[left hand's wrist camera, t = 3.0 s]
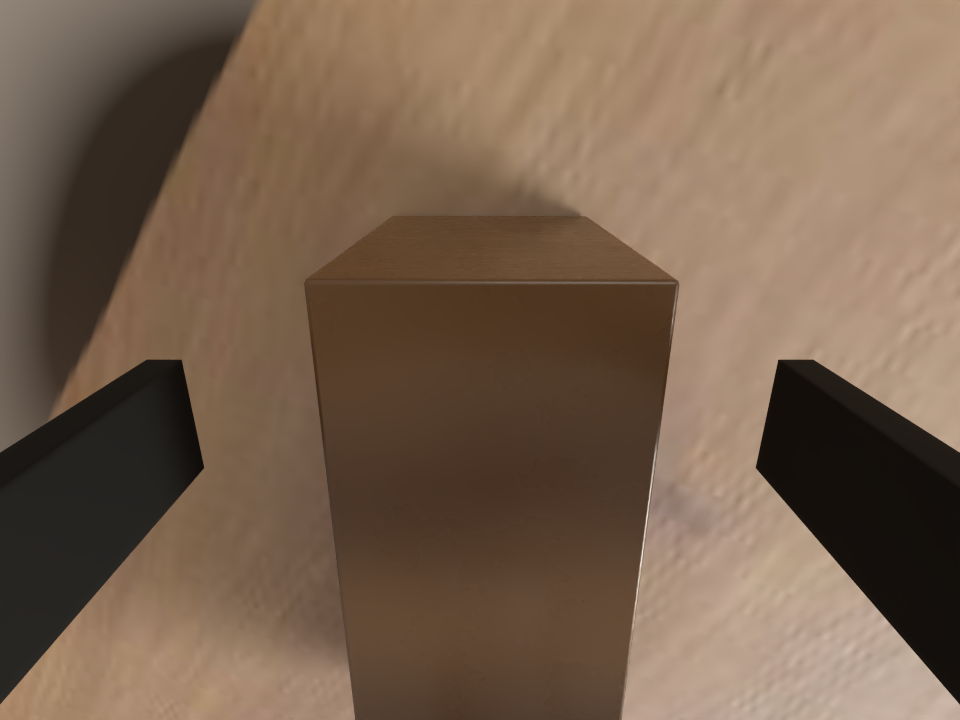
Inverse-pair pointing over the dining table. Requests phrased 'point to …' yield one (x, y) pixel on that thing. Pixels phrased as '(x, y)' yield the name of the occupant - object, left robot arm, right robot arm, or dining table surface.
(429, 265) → the box
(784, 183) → the dining table surface
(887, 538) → the left robot arm
